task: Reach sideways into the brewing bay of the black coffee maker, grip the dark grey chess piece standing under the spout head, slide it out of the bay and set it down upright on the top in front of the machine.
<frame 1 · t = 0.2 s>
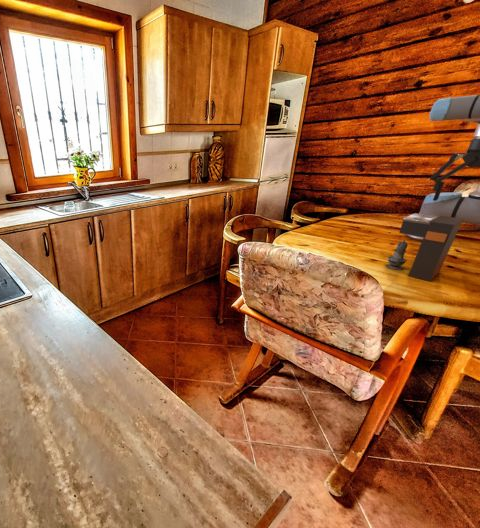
hand: (461, 202, 99), 28 cm above the table, tool pointing down, fingers open, 13 cm apart
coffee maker: (403, 269, 114), on the table
dark grey chess piece: (394, 267, 116), on the table
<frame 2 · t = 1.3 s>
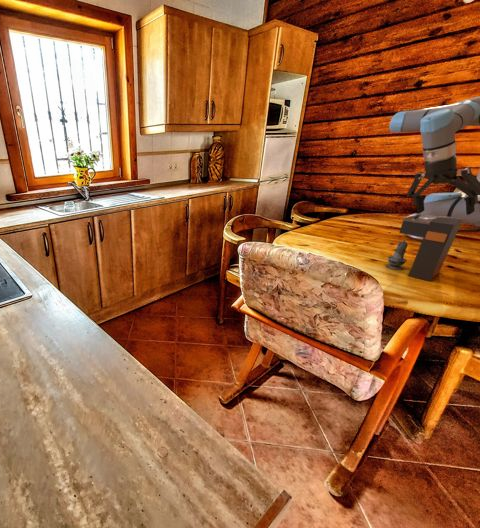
hand: (444, 212, 103), 24 cm above the table, tool tilted 25°, fingers open, 13 cm apart
nothing on the table moved.
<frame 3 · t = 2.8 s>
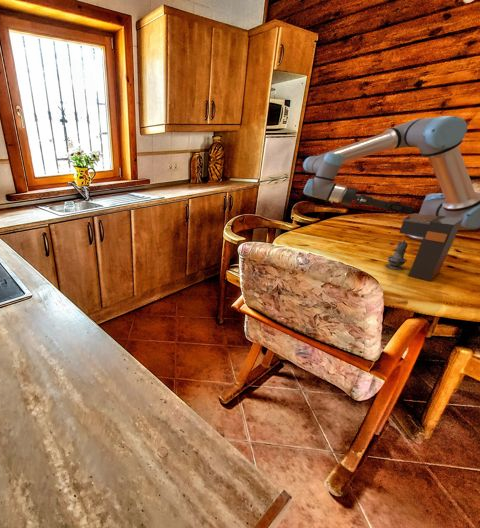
hand: (410, 210, 111), 23 cm above the table, tool horizontal, fingers open, 5 cm apart
nothing on the table moved.
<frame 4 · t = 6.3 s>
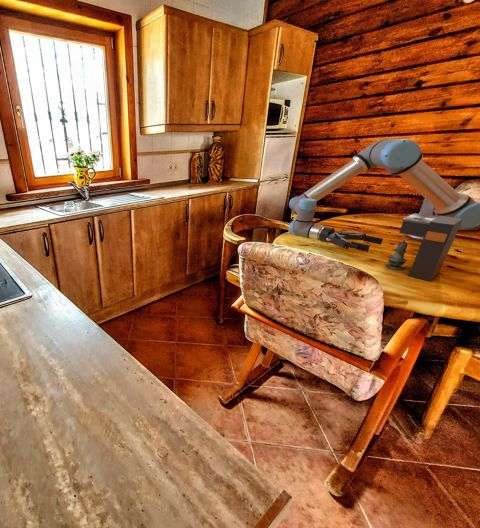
hand: (375, 245, 120), 8 cm above the table, tool horizontal, fingers open, 13 cm apart
nothing on the table moved.
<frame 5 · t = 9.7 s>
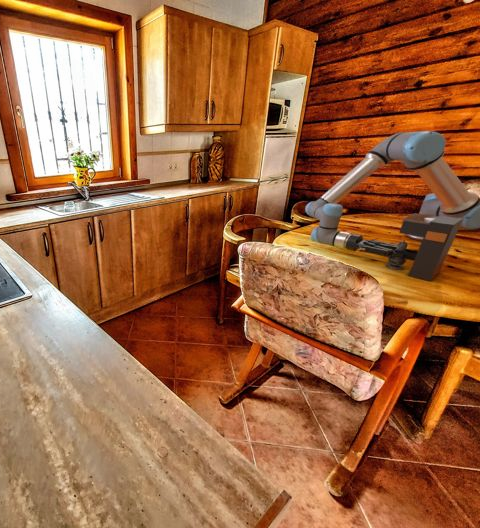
hand: (417, 256, 109), 7 cm above the table, tool horizontal, fingers closed on dark grey chess piece, 4 cm apart
dark grey chess piece: (394, 267, 116), on the table, touching gripper
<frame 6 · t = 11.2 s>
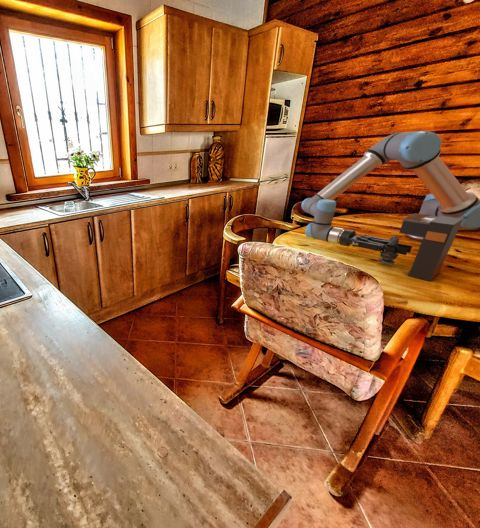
hand: (408, 250, 111), 8 cm above the table, tool horizontal, fingers closed on dark grey chess piece, 4 cm apart
dark grey chess piece: (386, 261, 118), point 1 cm above the table, touching gripper
when the fingers open (7 cm above the table, at t = 13.2 s): dark grey chess piece stays where it is, on the table.
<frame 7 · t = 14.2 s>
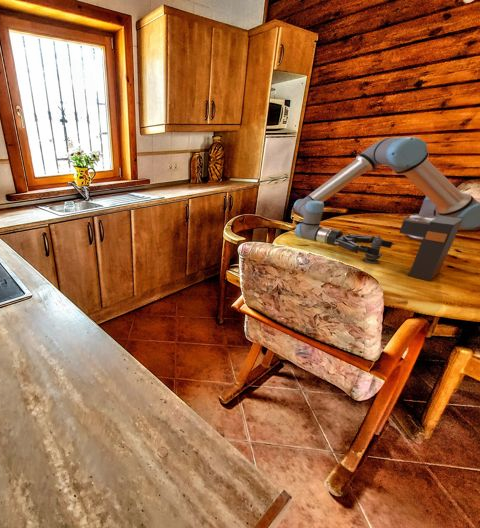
hand: (385, 248, 117), 7 cm above the table, tool horizontal, fingers open, 13 cm apart
dark grey chess piece: (370, 261, 123), on the table
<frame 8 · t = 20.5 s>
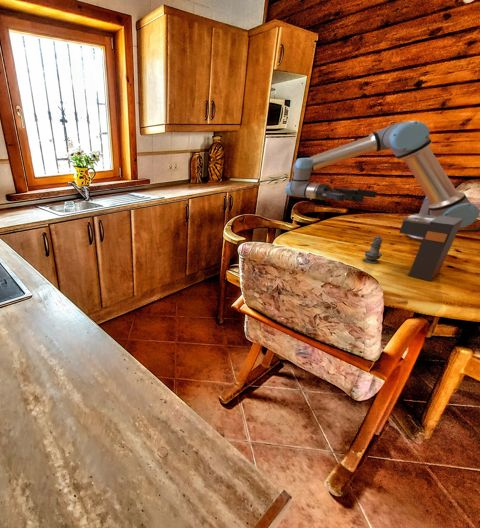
hand: (369, 196, 123), 26 cm above the table, tool horizontal, fingers open, 13 cm apart
nothing on the table moved.
at the end: dark grey chess piece inside the target area (0.8 cm from its centre), on the table; dark grey chess piece tilted 0°; the gripper is holding nothing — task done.
